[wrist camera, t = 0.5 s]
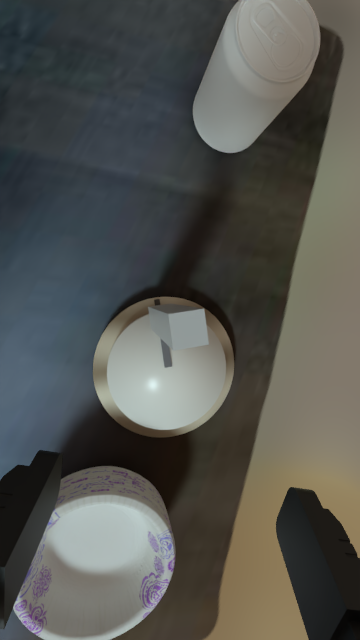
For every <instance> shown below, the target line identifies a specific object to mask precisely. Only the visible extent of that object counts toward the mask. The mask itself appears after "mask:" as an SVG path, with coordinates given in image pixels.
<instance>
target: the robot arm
mask: <svg viewBox="0 0 360 640" xmlns="http://www.w3.org/2000/svg"><path fill="white" fill-rule="evenodd" d="M62 459H63V454H62V453H57V452H50V451H43V450H39V451H38V453H37V454H36V456H35V457H34V459H33V461H32V463H31V464H30V466H24V465H17V466H16V467H15V468H13V469H12V470H11V471H9V472H8V473H7V474H6V475H4V476H3V478H2V479H1V481H0V629H4V628H5V626H6V623H7V621H8V618H9V616H10V614H11V611H12V609H13V606H14V604H15V602H16V599H17V597H18V594H19V592H20V590H21V587H22V585H23V582H24V580H25V578H26V575H27V573H28V570H29V568H30V566H31V563H32V561H33V558H34V556H35V554H36V551H37V549H38V546H39V544H40V541H41V539H42V537H43V534H44V532H45V529H46V527H47V525H48V522H49V520H50V517H51V515H52V513H53V510H54V508H55V505H56V502H57V499H58V495H59V490H60V482H61V471H62ZM276 532H277V538H278V541H279V544H280V548H281V551H282V554H283V558H284V561H285V564H286V567H287V571H288V574H289V577H290V580H291V584H292V587H293V590H294V593H295V596H296V600H297V603H298V606H299V609H300V613H301V616H302V619H303V622H304V625H305V629H306V632H307V635H308V638H309V640H360V558H358V557H357V553H356V551H355V549H354V547H353V545H352V544H350V540H349V538H348V536H347V534H346V532H345V530H344V528H343V526H342V524H341V523H340V522H339V521H338V520H337V519H336V517H335V516H334V515H333V514H332V513H331V512H330V511H329V510H328V509H324V508H323V507H322V506H321V503H320V501H319V499H318V497H317V495H316V494H315V492H314V491H312V490H307V489H300V488H294V487H291V488H289V490H288V491H287V494H286V497H285V499H284V502H283V504H282V507H281V509H280V512H279V515H278V517H277V522H276Z"/></svg>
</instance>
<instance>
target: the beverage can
mask: <svg viewBox="0 0 360 640" xmlns="http://www.w3.org/2000/svg"><path fill="white" fill-rule="evenodd" d="M319 47H320V29H319V24H318V20H317V17H316V15H315V12H314V10H313V8H312V7H311V5H310V4H309V2H308V1H307V0H239V1H238V2H237V3H236V4H235V6H234V7H233V8H232V10H231V11H230V13H229V15H228V17H227V19H226V21H225V24H224V26H223V29H222V31H221V34H220V36H219V39H218V41H217V44H216V46H215V49H214V51H213V54H212V56H211V59H210V61H209V64H208V66H207V69H206V71H205V74H204V76H203V79H202V81H201V84H200V86H199V89H198V91H197V94H196V97H195V99H194V103H193V119H194V123H195V126H196V129H197V131H198V133H199V135H200V136H201V138H202V139H203V140H204V141H205V142H206V143H207V144H208V145H209V146H211V147H212V148H214V149H216V150H218V151H221V152H225V153H235V152H239V151H242V150H244V149H246V148H247V147H249V146H250V145H251V144H252V143H253V142H254V141H255V140H256V139H257V137H258V136H259V135H260V134H261V133H262V132H263V131H264V130H265V128H266V127H267V126H268V125H269V124H270V123H271V122H272V121H273V120H274V118H275V117H276V116H277V115H278V114H279V113H280V112H281V111H282V110H283V108H284V107H285V106H286V105H287V104H288V103H289V102H290V101H291V99H292V98H293V97H294V96H295V95H296V94H297V93H298V92H299V91H300V89H301V88H302V87H303V86H304V85H305V83H306V82H307V80H308V78H309V77H310V75H311V72H312V70H313V67H314V63H315V60H316V58H317V55H318V52H319Z"/></svg>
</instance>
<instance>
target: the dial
mask: <svg viewBox="0 0 360 640" xmlns="http://www.w3.org/2000/svg"><path fill="white" fill-rule="evenodd" d="M148 310H149V314H146V315H144V316H142V317H140V318H138V319H136V320H135V321H133V322H132V323H130V324H129V325H128V326H127V327H126V328H125V329H124V330H123V331H122V332H121V333H120V335H119V336H118V337H117V339H116V341H115V342H114V344H113V346H112V349H111V352H110V355H109V359H108V365H107V381H108V386H109V390H110V393H111V396H112V398H113V400H114V402H115V403H116V405H117V406H118V408H119V409H120V410H121V411H122V412H123V413H124V414H125V415H126V416H127V417H128V418H129V419H131V420H132V421H134V422H136V423H137V424H139V425H142V426H144V427H147V428H152V429H158V430H170V429H177V428H180V427H184V426H186V425H189V424H191V423H193V422H194V421H196V420H198V419H199V418H201V417H202V416H203V415H204V414H205V413H207V412H208V411H209V410H210V408H211V407H212V406H213V405H214V403H215V402H216V400H217V399H218V397H219V395H220V393H221V391H222V388H223V385H224V381H225V376H226V359H225V354H224V351H223V348H222V345H221V343H220V341H219V339H218V337H217V336H216V334H215V333H214V332H213V331H212V330H211V328H210V327H209V326H207V325H206V318H205V311H204V308H197V307H190V306H184V305H177V304H171V303H170V304H163V305H156V306H150V307H148Z"/></svg>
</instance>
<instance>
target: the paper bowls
mask: <svg viewBox="0 0 360 640" xmlns="http://www.w3.org/2000/svg"><path fill="white" fill-rule="evenodd" d="M174 565H175V541H174V537H173V533H172V530H171V525H170V522H169V518H168V514H167V510H166V507H165V504H164V502H163V500H162V498H161V495H160V494H159V492H158V491H157V489H156V488H155V487H154V486H153V485H152V484H151V483H150V482H149V481H148V480H147V479H145V478H143V477H142V476H141V475H139V474H137V473H135V472H132V471H131V470H127V469H125V468H120V467H115V466H99V467H92V468H88V469H84V470H81V471H78V472H75V473H72V474H70V475H68V476H66V477H64V478H63V479H61V482H60V490H59V495H58V499H57V502H56V505H55V508H54V510H53V513H52V515H51V517H50V520H49V522H48V525H47V527H46V529H45V532H44V534H43V537H42V539H41V541H40V544H39V546H38V549H37V551H36V554H35V556H34V558H33V561H32V563H31V566H30V568H29V570H28V573H27V575H26V578H25V580H24V582H23V585H22V587H21V590H20V592H19V594H18V597H17V599H16V602H15V604H14V606H13V609H14V611H15V613H16V615H17V616H18V618H19V619H20V621H21V622H22V623H23V624H24V625H25V626H26V627H27V628H28V629H29V630H30V631H31V632H33V633H34V634H36V635H37V636H39V637H41V638H43V639H45V640H110V639H112V638H114V637H117V636H119V635H121V634H123V633H124V632H126V631H128V630H129V629H131V628H133V627H134V626H135V625H137V624H138V623H139V622H141V621H142V620H143V619H144V618H145V617H146V616H147V615H148V614H150V612H151V611H152V610H153V609H154V608H155V606H156V605H157V604H158V603H159V601H160V599H161V598H162V596H163V595H164V593H165V591H166V589H167V587H168V584H169V582H170V580H171V576H172V573H173V569H174Z"/></svg>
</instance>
